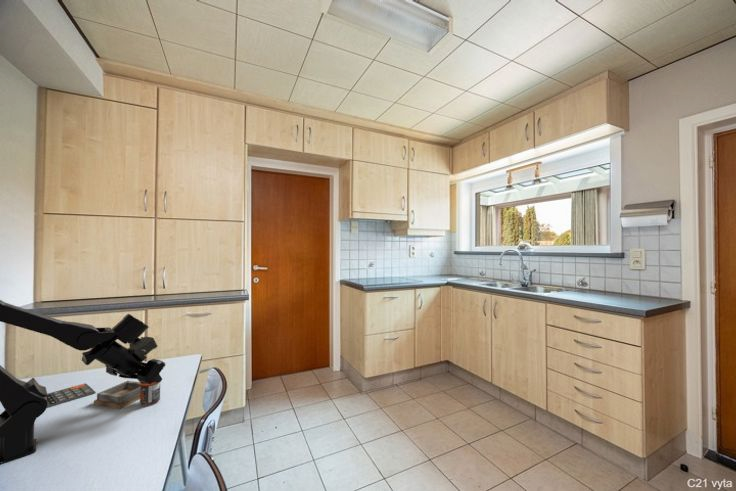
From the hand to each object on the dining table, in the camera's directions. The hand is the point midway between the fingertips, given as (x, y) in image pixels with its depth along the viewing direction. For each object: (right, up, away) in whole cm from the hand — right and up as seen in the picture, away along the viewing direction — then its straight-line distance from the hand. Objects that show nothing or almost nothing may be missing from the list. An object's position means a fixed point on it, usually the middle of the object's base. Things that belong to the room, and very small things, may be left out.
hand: (155, 379), depth 94 cm
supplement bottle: (-1, -7, -1) cm, 7 cm away
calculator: (-32, -7, +1) cm, 33 cm away
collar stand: (-11, -7, +1) cm, 12 cm away
